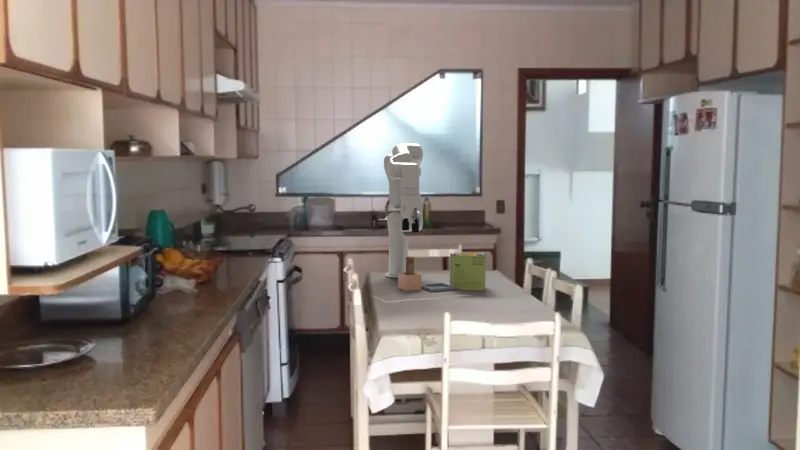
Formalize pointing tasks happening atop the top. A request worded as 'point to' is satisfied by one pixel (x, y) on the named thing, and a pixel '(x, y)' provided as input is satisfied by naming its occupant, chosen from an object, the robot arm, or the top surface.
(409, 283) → the holder
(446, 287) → the tray
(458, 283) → the protein box
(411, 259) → the dowel
